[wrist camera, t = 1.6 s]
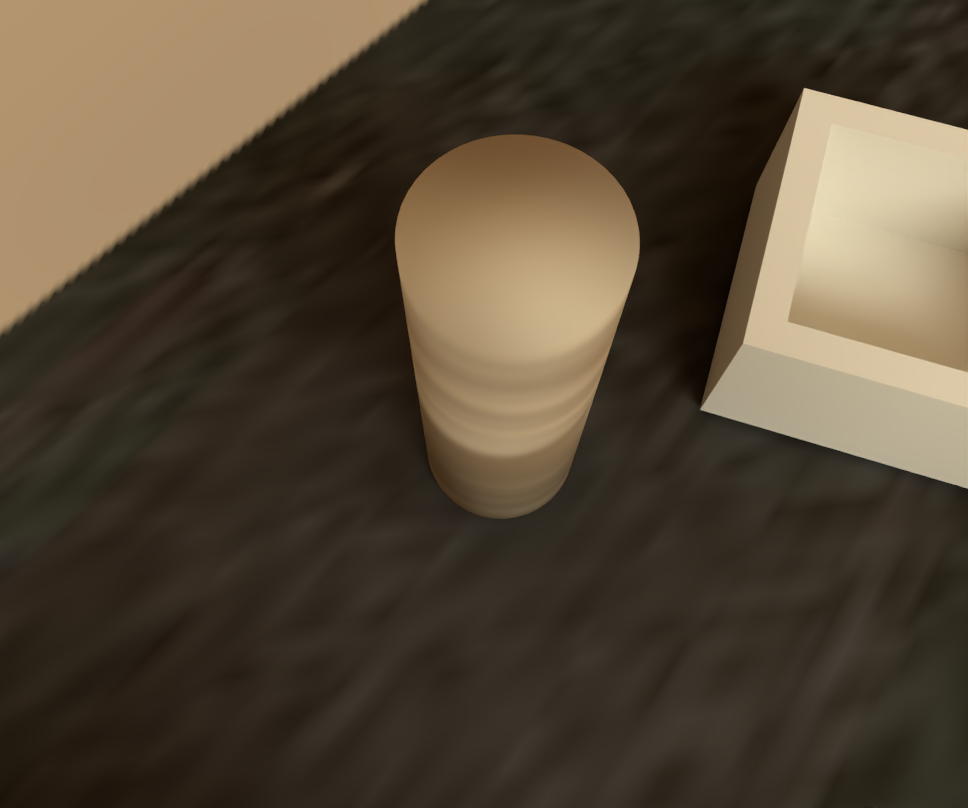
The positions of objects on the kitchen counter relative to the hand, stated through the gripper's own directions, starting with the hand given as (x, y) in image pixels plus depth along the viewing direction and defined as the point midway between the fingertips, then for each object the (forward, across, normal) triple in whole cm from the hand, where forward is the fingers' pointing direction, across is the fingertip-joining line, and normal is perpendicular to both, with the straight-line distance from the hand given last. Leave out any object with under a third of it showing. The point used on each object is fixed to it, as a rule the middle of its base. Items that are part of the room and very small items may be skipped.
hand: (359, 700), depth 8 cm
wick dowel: (+14, 0, +4) cm, 15 cm away
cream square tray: (+18, -8, 0) cm, 20 cm away
